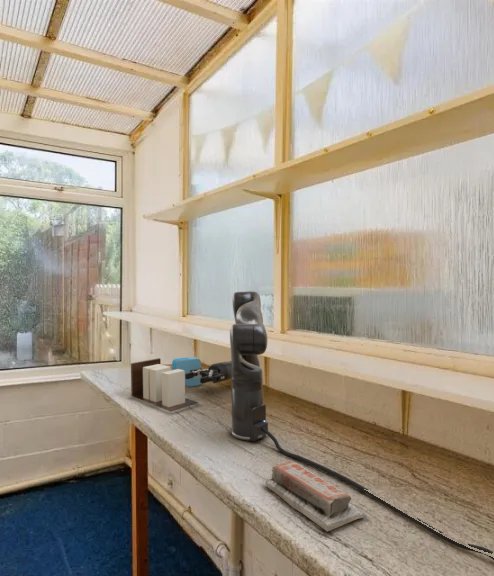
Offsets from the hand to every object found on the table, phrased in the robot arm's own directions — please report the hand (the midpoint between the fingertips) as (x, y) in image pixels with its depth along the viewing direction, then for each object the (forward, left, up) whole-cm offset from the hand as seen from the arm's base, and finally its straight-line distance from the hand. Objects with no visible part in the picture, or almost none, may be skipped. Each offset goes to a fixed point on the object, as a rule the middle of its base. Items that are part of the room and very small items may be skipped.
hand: (193, 378), depth 147 cm
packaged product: (-65, +27, -9) cm, 71 cm away
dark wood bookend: (+7, +9, -9) cm, 14 cm away
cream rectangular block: (+8, +10, -8) cm, 15 cm away
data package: (+17, -12, -9) cm, 23 cm away
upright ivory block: (0, +10, -8) cm, 12 cm away
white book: (+12, +10, -8) cm, 17 cm away
